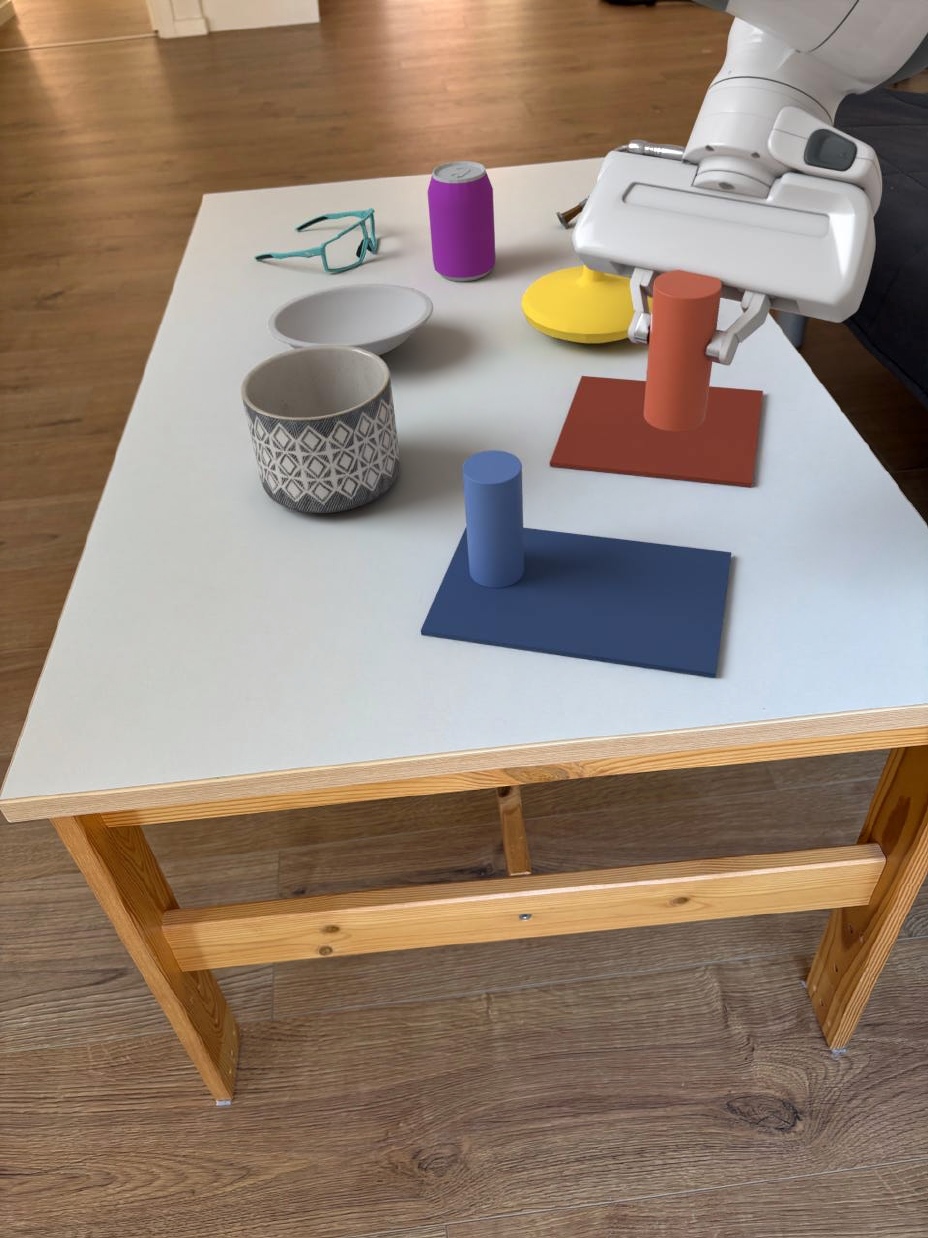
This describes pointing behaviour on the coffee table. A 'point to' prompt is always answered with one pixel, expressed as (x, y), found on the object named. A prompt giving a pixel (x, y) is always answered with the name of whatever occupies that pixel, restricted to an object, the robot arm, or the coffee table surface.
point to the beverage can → (461, 221)
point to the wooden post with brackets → (571, 213)
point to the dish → (352, 317)
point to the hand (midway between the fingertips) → (677, 351)
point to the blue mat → (594, 602)
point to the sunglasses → (361, 251)
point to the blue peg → (494, 518)
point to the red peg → (680, 349)
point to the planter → (323, 427)
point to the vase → (581, 305)
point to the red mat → (659, 435)
